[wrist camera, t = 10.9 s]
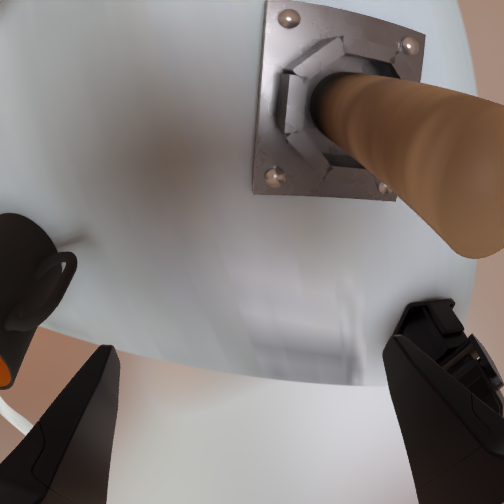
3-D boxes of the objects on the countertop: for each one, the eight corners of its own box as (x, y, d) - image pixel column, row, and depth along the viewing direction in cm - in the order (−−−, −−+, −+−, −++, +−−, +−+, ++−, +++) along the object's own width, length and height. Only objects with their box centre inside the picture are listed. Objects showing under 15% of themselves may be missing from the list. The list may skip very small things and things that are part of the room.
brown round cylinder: (366, 150, 18) (503, 267, 8) (301, 131, 17) (412, 244, 7) (387, 86, 16) (556, 147, 6) (321, 61, 15) (477, 76, 5)
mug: (115, 279, 23) (80, 392, 15) (15, 301, 24) (-28, 387, 15) (71, 184, 19) (-9, 280, 10) (-28, 227, 19) (-95, 307, 10)
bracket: (389, 195, 21) (412, 218, 19) (251, 188, 20) (258, 212, 17) (417, 34, 15) (449, 35, 12) (265, 0, 14) (275, -12, 11)
